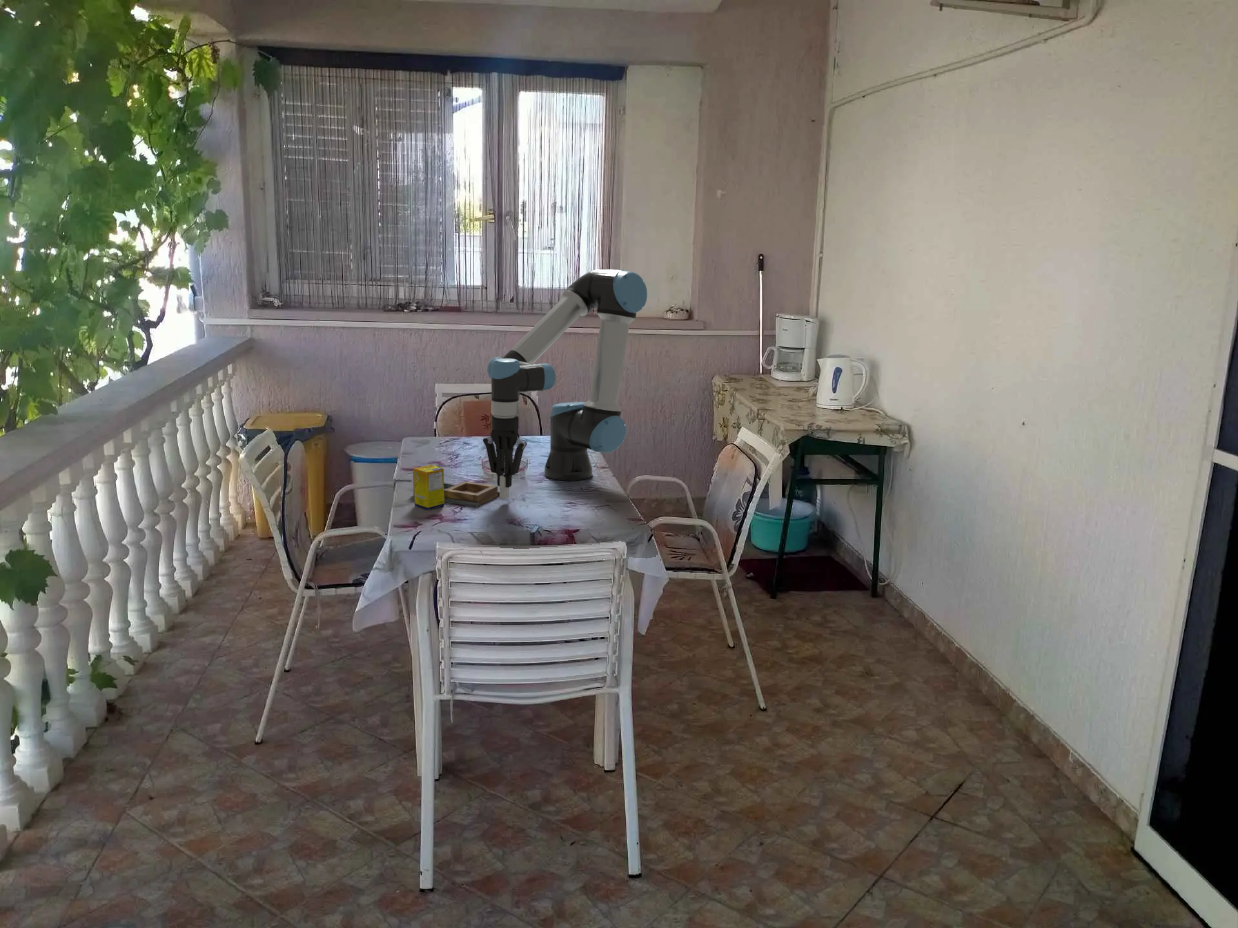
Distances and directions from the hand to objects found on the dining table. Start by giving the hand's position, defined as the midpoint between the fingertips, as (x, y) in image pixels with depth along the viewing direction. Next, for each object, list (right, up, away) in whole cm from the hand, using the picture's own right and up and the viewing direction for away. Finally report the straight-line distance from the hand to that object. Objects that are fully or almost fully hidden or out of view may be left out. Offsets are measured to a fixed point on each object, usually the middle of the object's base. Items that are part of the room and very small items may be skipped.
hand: (504, 497), depth 261 cm
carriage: (-10, 0, +5) cm, 11 cm away
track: (-15, 0, +6) cm, 16 cm away
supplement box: (-20, -2, -4) cm, 21 cm away
